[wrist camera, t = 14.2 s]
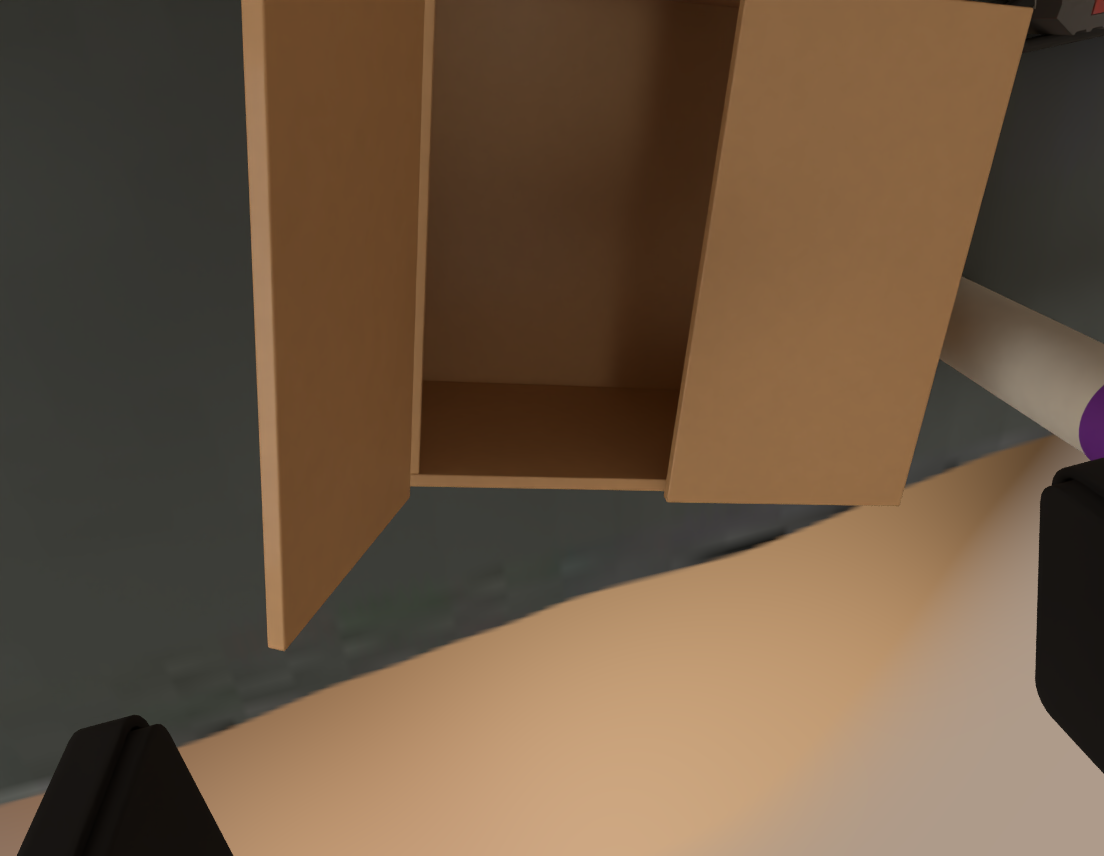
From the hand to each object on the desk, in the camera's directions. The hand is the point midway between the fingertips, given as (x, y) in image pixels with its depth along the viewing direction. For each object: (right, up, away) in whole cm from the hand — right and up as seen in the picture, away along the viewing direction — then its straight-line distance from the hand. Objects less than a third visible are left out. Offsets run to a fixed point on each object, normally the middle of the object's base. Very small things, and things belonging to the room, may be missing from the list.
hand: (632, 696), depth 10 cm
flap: (-5, +6, +10) cm, 12 cm away
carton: (+2, +10, +22) cm, 24 cm away
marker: (+14, +7, +25) cm, 30 cm away
